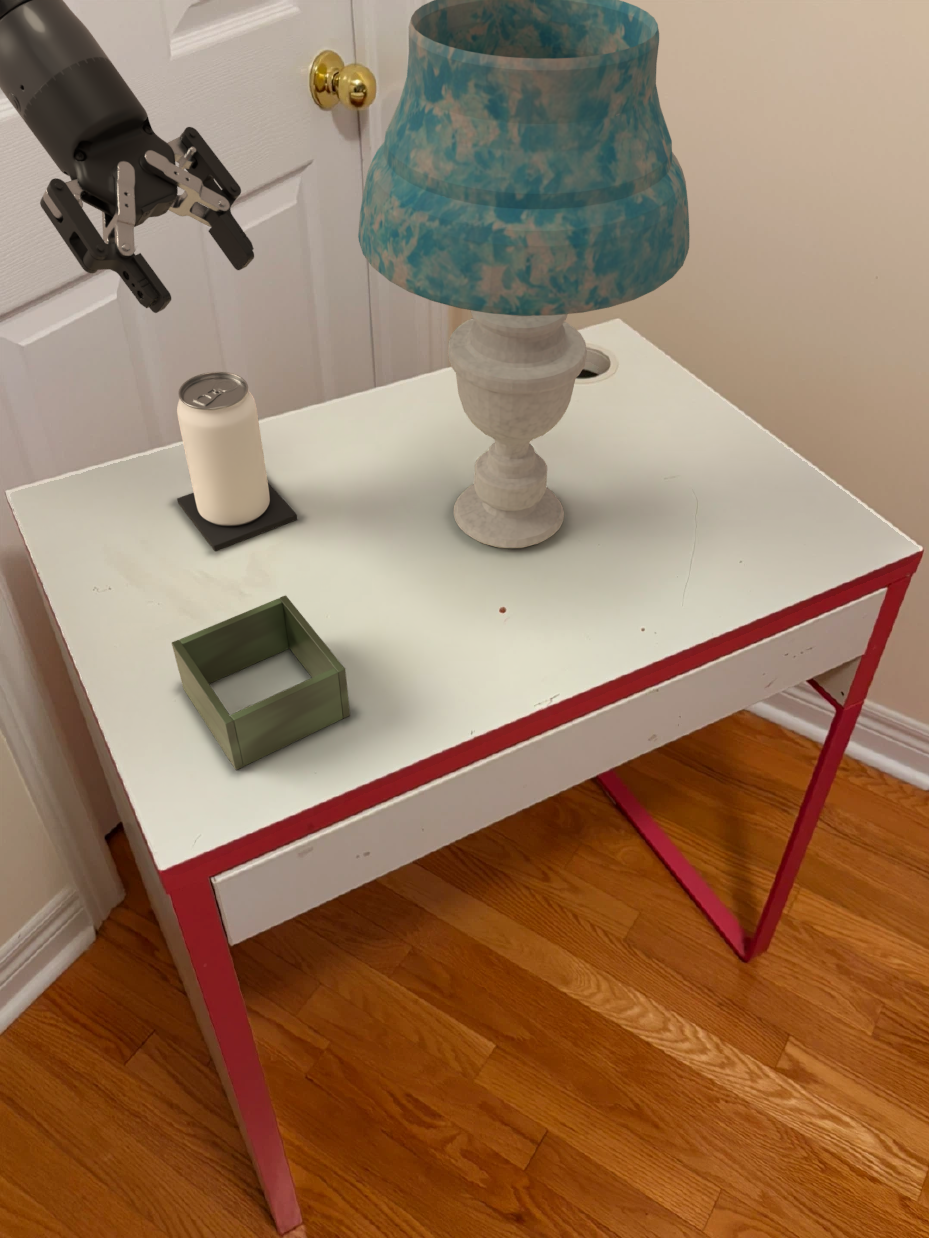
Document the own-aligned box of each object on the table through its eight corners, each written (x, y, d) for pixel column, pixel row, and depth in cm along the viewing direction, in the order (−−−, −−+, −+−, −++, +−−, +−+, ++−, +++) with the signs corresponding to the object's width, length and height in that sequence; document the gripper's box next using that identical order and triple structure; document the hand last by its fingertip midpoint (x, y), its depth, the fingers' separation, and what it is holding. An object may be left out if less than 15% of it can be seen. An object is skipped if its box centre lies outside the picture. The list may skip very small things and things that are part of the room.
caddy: (235, 770, 74) (225, 724, 70) (183, 688, 79) (171, 642, 75) (350, 715, 77) (345, 668, 74) (292, 641, 83) (286, 594, 79)
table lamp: (687, 576, 89) (796, 62, 61) (414, 632, 83) (398, 98, 56) (582, 424, 105) (631, -36, 77) (349, 463, 100) (312, -15, 72)
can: (285, 499, 95) (269, 383, 86) (237, 538, 91) (216, 420, 82) (231, 476, 97) (210, 361, 89) (182, 512, 93) (155, 395, 85)
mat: (214, 551, 90) (213, 546, 90) (177, 503, 95) (176, 498, 95) (297, 519, 94) (296, 514, 93) (258, 474, 98) (257, 469, 98)
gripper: (-6, 82, 68) (153, 298, 71) (159, 31, 76) (294, 226, 79) (-31, 149, 73) (116, 345, 77) (124, 95, 82) (252, 273, 85)
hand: (207, 284), depth 78 cm, fingers open, 8 cm apart
